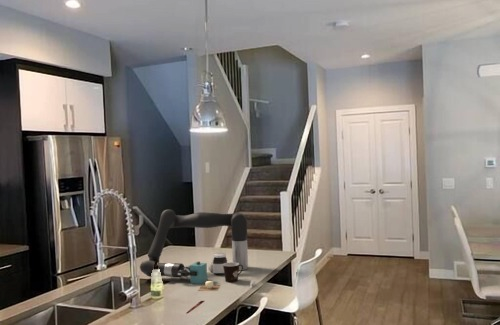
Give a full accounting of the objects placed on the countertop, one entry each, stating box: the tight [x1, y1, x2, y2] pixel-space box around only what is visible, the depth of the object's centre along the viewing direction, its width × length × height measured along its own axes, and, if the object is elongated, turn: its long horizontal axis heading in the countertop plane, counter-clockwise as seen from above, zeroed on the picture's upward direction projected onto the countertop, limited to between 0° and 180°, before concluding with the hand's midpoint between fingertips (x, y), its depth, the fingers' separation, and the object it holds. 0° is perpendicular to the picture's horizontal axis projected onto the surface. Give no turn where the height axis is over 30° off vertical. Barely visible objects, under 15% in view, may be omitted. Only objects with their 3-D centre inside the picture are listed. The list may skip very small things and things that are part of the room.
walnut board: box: [197, 284, 222, 292], centre depth 222 cm, size 10×10×1 cm
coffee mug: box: [223, 261, 244, 284], centre depth 234 cm, size 12×9×10 cm
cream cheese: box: [204, 280, 214, 289], centre depth 222 cm, size 4×4×3 cm
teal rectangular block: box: [189, 261, 208, 284], centre depth 235 cm, size 7×7×11 cm
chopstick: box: [185, 300, 205, 314], centre depth 201 cm, size 2×24×1 cm, turn 162°
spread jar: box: [208, 252, 228, 276], centre depth 254 cm, size 12×11×12 cm
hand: (200, 271), depth 234 cm, fingers open, 8 cm apart
